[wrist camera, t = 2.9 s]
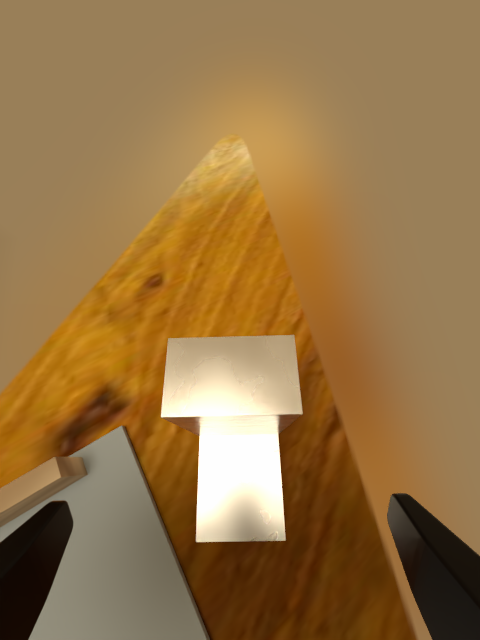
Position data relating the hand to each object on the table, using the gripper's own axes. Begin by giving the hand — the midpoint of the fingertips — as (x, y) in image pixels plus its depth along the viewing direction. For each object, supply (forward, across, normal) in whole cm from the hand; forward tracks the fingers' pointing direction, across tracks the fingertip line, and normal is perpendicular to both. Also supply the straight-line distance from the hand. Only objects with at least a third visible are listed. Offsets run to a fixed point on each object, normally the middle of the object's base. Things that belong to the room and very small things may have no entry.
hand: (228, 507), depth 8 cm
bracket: (+10, 0, +8) cm, 12 cm away
